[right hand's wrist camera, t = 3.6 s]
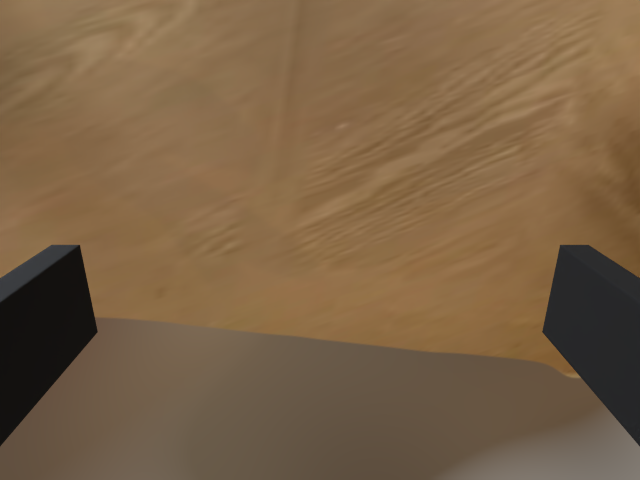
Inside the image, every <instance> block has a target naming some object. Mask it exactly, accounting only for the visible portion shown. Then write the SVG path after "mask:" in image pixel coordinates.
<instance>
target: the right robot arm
mask: <svg viewBox="0 0 640 480" xmlns="http://www.w3.org/2000/svg"><path fill="white" fill-rule="evenodd" d="M542 332H543V333H544V334H545V336H546V337H547V338H548V339H549V340H550V341H551V343H552V344H553V345H554V346H555V347H556V349H557V350H558V351H559V352H560V353H561V354H562V356H563V357H564V358H565V359H566V360H567V361H568V363H569V364H570V365H571V366H572V367H573V368H574V370H575V371H576V372H577V373H578V374H579V376H580V377H581V378H582V379H583V380H584V381H585V383H586V384H587V385H588V386H589V387H590V388H591V390H592V391H593V392H594V393H595V394H596V395H597V397H598V398H599V399H600V400H601V401H602V402H603V404H604V405H605V406H606V407H607V408H608V410H609V411H610V412H611V413H612V414H613V415H614V417H615V418H616V419H617V420H618V421H619V422H620V424H621V425H622V426H623V427H624V428H625V429H626V431H627V432H628V433H629V434H630V435H631V436H632V438H633V439H634V440H635V441H636V442H637V443H638V445H639V446H640V278H638V277H637V276H635V275H634V274H632V273H631V272H629V271H628V270H626V269H625V268H623V267H622V266H620V265H618V264H617V263H615V262H614V261H612V260H611V259H609V258H608V257H606V256H605V255H603V254H601V253H600V252H598V251H597V250H595V249H594V248H592V247H591V246H589V245H560V249H559V254H558V259H557V263H556V268H555V273H554V278H553V283H552V288H551V293H550V297H549V302H548V307H547V312H546V317H545V322H544V327H543V331H542ZM96 333H97V327H96V322H95V317H94V312H93V307H92V302H91V297H90V293H89V288H88V283H87V278H86V273H85V268H84V263H83V259H82V254H81V249H80V245H51V246H49V247H48V248H46V249H45V250H43V251H42V252H40V253H39V254H37V255H35V256H34V257H32V258H31V259H29V260H28V261H26V262H25V263H23V264H22V265H20V266H18V267H17V268H15V269H14V270H12V271H11V272H9V273H8V274H6V275H5V276H3V277H2V278H0V446H1V445H2V443H3V442H4V441H5V440H6V439H7V438H8V437H9V435H10V434H11V433H12V432H13V431H14V429H15V428H16V427H17V426H18V425H19V424H20V422H21V421H22V420H23V419H24V418H25V417H26V415H27V414H28V413H29V412H30V411H31V410H32V408H33V407H34V406H35V405H36V404H37V402H38V401H39V400H40V399H41V398H42V397H43V395H44V394H45V393H46V392H47V391H48V390H49V388H50V387H51V386H52V385H53V384H54V382H55V381H56V380H57V379H58V378H59V377H60V376H61V374H62V373H63V372H64V371H65V370H66V368H67V367H68V366H69V365H70V364H71V363H72V361H73V360H74V359H75V358H76V357H77V356H78V354H79V353H80V352H81V351H82V350H83V348H84V347H85V346H86V345H87V344H88V343H89V341H90V340H91V339H92V338H93V337H94V336H95V334H96Z"/></svg>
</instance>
